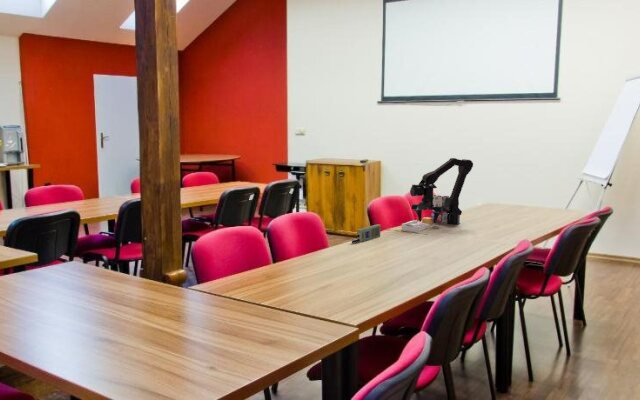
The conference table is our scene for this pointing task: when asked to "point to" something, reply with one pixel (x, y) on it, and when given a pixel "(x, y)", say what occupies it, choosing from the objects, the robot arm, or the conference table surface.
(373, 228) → the handheld radio
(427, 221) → the orange cube
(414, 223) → the white box
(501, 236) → the conference table surface
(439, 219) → the candy bar box
